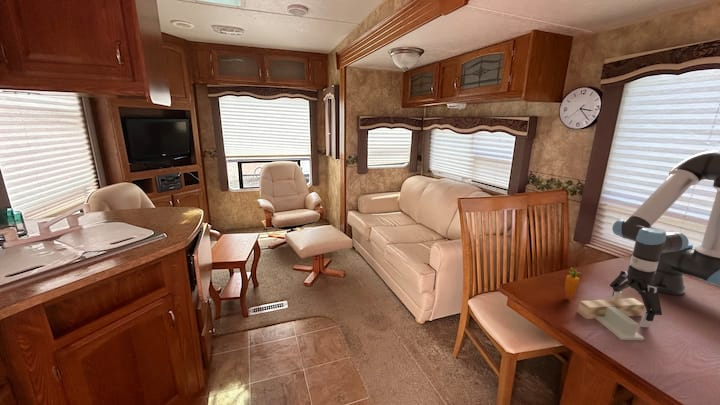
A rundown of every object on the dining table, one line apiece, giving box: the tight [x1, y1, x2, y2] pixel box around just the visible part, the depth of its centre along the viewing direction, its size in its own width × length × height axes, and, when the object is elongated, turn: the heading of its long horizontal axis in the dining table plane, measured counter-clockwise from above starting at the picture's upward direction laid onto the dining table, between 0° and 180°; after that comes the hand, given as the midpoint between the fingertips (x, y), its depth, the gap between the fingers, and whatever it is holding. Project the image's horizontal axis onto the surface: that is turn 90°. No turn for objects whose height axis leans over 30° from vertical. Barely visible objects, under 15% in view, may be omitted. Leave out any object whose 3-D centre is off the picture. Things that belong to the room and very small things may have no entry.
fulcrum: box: [595, 307, 645, 341], centre depth 109 cm, size 8×12×6 cm, turn 179°
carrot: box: [564, 267, 581, 300], centre depth 127 cm, size 5×5×15 cm
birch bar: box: [577, 297, 645, 320], centre depth 118 cm, size 24×4×6 cm, turn 95°
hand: (628, 315), depth 118 cm, fingers open, 13 cm apart
